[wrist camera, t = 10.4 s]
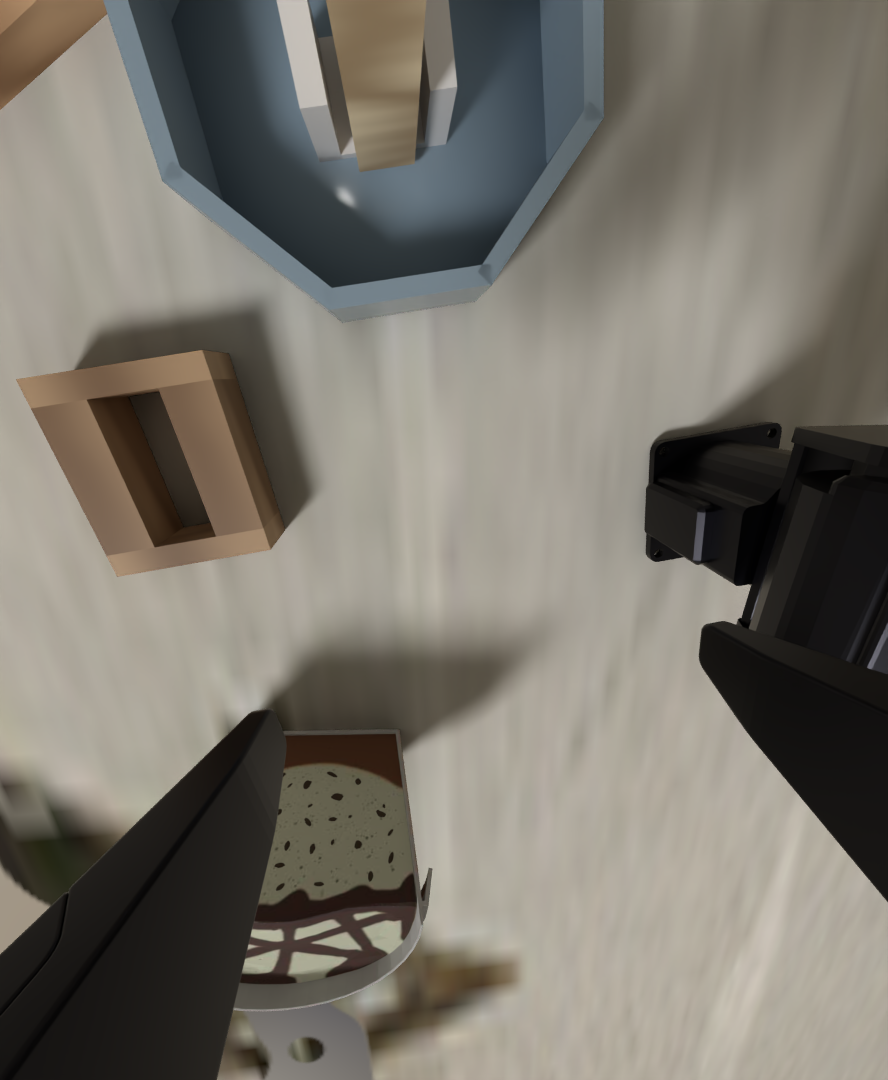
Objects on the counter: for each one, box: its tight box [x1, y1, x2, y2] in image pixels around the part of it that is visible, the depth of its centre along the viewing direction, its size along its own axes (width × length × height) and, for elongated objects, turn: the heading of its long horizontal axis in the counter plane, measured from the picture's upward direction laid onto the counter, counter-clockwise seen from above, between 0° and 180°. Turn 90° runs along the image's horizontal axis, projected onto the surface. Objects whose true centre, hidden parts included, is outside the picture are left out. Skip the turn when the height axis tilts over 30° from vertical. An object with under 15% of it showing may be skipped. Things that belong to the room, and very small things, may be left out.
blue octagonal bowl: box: [103, 0, 604, 323], centre depth 13 cm, size 13×13×4 cm
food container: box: [233, 729, 432, 1011], centre depth 22 cm, size 12×6×10 cm, turn 85°
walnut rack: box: [16, 350, 285, 577], centre depth 17 cm, size 7×8×2 cm
